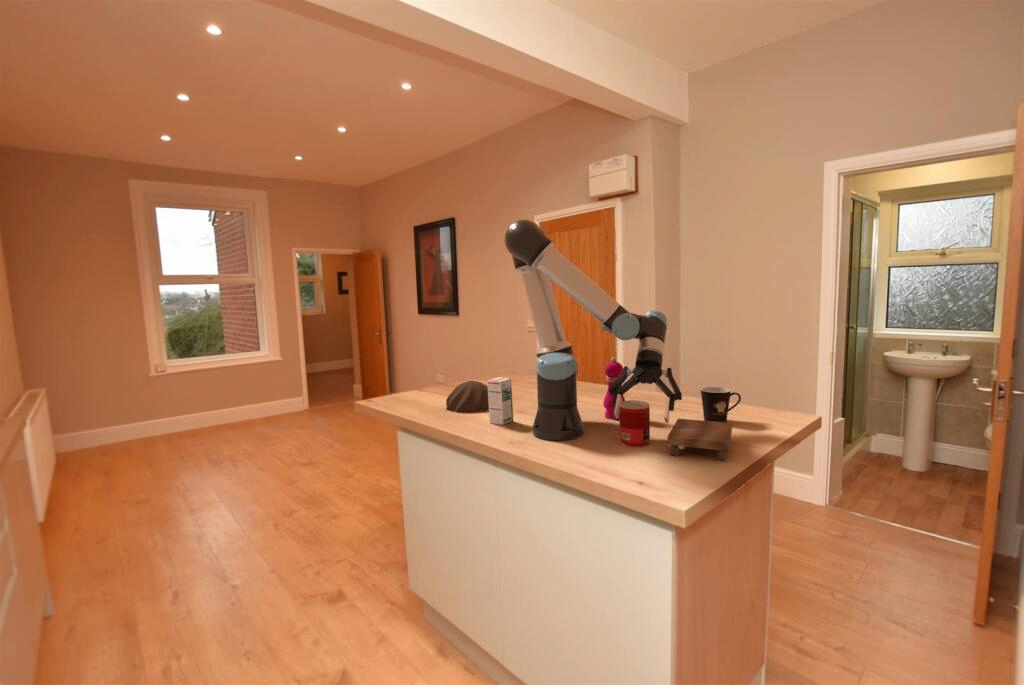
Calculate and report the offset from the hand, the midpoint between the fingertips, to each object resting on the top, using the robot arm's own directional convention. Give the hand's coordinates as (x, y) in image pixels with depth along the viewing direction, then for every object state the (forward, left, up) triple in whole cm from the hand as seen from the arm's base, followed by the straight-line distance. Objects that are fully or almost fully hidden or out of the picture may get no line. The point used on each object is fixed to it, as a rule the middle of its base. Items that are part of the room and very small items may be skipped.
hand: (640, 418), depth 133 cm
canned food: (-1, -1, -7) cm, 7 cm away
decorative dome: (-68, +21, -7) cm, 71 cm away
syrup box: (-46, +5, -7) cm, 47 cm away
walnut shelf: (+16, 0, -7) cm, 17 cm away
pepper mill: (-13, +23, -7) cm, 27 cm away
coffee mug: (+19, +28, -7) cm, 34 cm away
